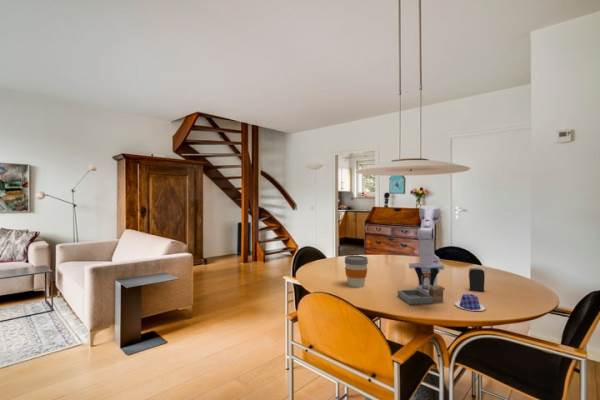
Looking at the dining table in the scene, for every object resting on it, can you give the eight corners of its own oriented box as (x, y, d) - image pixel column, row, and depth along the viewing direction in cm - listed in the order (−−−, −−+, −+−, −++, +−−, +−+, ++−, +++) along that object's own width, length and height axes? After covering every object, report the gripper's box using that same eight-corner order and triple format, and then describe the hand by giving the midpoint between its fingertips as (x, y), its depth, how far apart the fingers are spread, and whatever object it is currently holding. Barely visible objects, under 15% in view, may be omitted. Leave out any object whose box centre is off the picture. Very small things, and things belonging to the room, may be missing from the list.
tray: (397, 296, 147) (397, 290, 147) (418, 295, 149) (418, 289, 149) (410, 305, 135) (410, 298, 135) (432, 303, 137) (432, 297, 137)
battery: (483, 290, 157) (483, 268, 157) (484, 292, 153) (484, 269, 153) (468, 288, 159) (468, 267, 159) (469, 290, 156) (469, 268, 156)
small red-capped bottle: (419, 287, 137) (420, 272, 137) (430, 287, 136) (430, 272, 136) (422, 289, 133) (422, 274, 133) (432, 290, 132) (432, 274, 132)
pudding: (472, 302, 140) (473, 290, 140) (492, 311, 128) (492, 299, 128) (448, 303, 139) (448, 291, 138) (466, 313, 127) (466, 300, 127)
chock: (427, 299, 142) (427, 285, 142) (438, 299, 143) (438, 284, 143) (433, 303, 138) (433, 288, 138) (444, 302, 139) (444, 287, 139)
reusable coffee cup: (367, 288, 159) (368, 260, 159) (343, 287, 161) (344, 259, 161) (367, 282, 171) (367, 255, 171) (345, 280, 174) (345, 255, 174)
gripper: (410, 255, 132) (410, 286, 132) (446, 256, 129) (446, 288, 129) (408, 252, 139) (407, 282, 139) (441, 253, 136) (441, 283, 136)
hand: (426, 284), depth 135 cm, fingers closed on small red-capped bottle, 4 cm apart
